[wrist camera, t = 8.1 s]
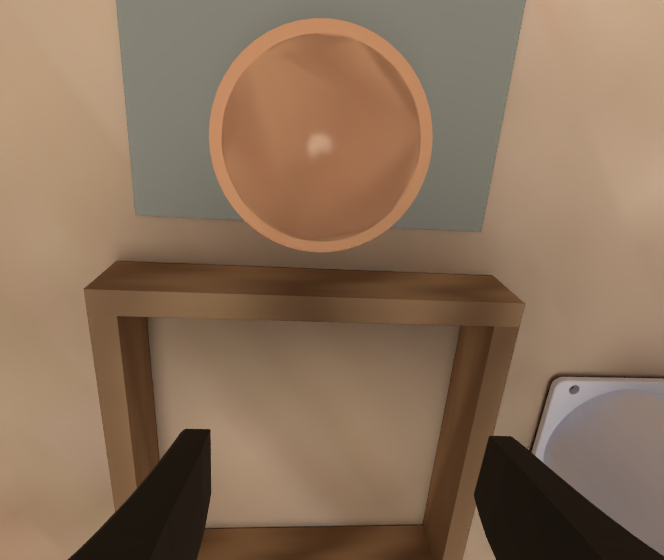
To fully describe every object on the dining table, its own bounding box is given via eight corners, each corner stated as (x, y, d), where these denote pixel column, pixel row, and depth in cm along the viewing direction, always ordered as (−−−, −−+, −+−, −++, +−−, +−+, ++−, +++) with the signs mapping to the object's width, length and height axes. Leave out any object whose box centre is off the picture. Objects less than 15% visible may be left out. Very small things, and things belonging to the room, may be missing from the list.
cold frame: (492, 275, 20) (525, 303, 17) (437, 537, 25) (454, 590, 23) (116, 261, 18) (83, 288, 15) (147, 543, 24) (127, 601, 21)
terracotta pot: (397, 57, 16) (450, 31, 10) (379, 211, 18) (415, 257, 12) (239, 43, 16) (206, 5, 10) (239, 202, 17) (211, 246, 12)
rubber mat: (526, -18, 16) (529, -19, 16) (479, 230, 19) (480, 231, 19) (112, -61, 14) (110, -64, 14) (137, 214, 18) (135, 215, 17)
